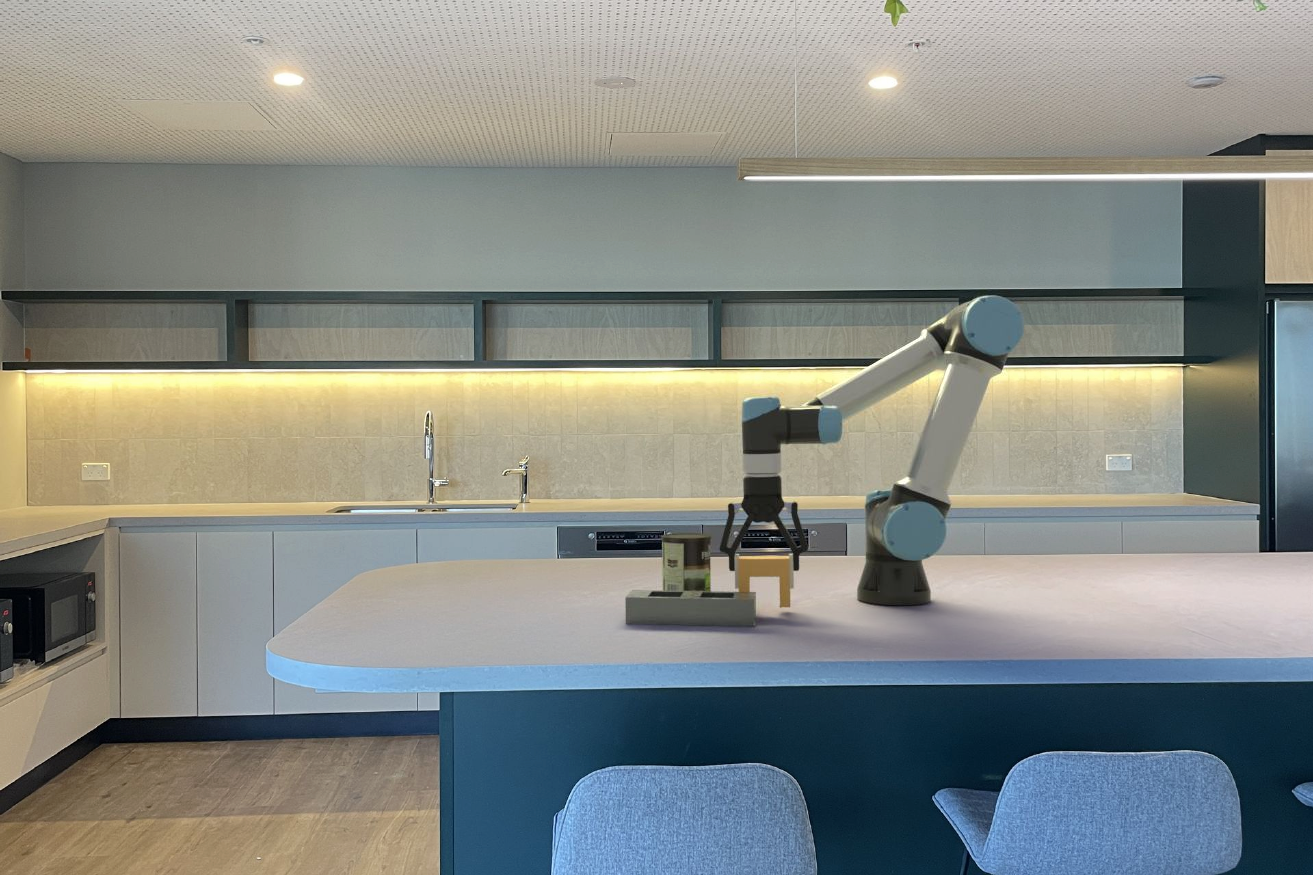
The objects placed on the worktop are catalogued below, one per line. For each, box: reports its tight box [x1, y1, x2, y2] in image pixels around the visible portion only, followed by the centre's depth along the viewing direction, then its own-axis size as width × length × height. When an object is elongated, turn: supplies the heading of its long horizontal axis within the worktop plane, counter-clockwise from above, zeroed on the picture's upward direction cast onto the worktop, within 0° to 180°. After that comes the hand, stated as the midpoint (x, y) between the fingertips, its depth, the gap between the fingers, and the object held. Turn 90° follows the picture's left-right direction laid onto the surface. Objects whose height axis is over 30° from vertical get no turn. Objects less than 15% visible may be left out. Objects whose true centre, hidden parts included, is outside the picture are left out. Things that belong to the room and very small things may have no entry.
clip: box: [738, 555, 791, 608], centre depth 212 cm, size 10×4×10 cm, turn 82°
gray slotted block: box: [624, 589, 757, 628], centre depth 203 cm, size 24×8×5 cm, turn 83°
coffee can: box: [661, 532, 712, 591], centre depth 223 cm, size 10×10×14 cm
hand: (764, 587), depth 212 cm, fingers closed on clip, 10 cm apart
